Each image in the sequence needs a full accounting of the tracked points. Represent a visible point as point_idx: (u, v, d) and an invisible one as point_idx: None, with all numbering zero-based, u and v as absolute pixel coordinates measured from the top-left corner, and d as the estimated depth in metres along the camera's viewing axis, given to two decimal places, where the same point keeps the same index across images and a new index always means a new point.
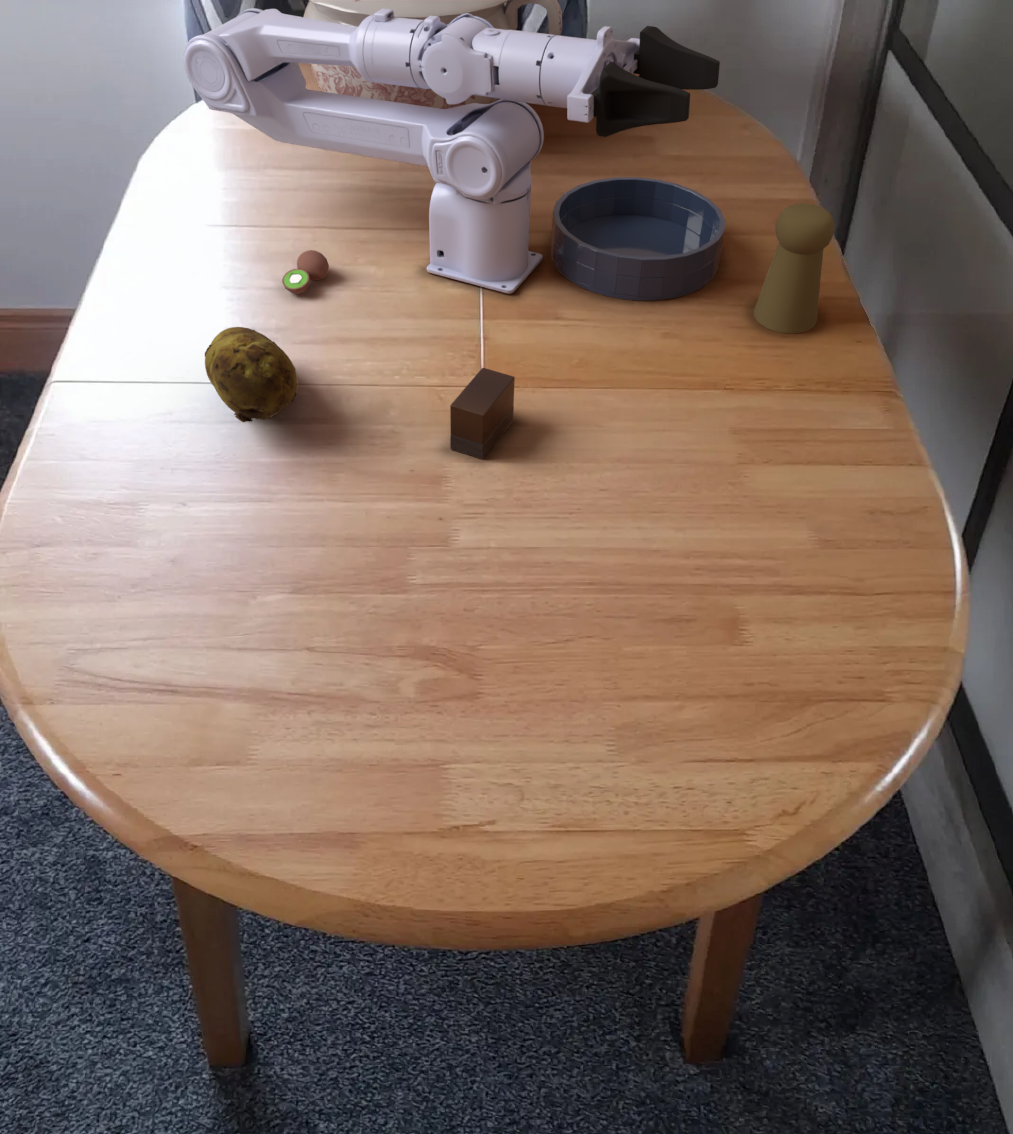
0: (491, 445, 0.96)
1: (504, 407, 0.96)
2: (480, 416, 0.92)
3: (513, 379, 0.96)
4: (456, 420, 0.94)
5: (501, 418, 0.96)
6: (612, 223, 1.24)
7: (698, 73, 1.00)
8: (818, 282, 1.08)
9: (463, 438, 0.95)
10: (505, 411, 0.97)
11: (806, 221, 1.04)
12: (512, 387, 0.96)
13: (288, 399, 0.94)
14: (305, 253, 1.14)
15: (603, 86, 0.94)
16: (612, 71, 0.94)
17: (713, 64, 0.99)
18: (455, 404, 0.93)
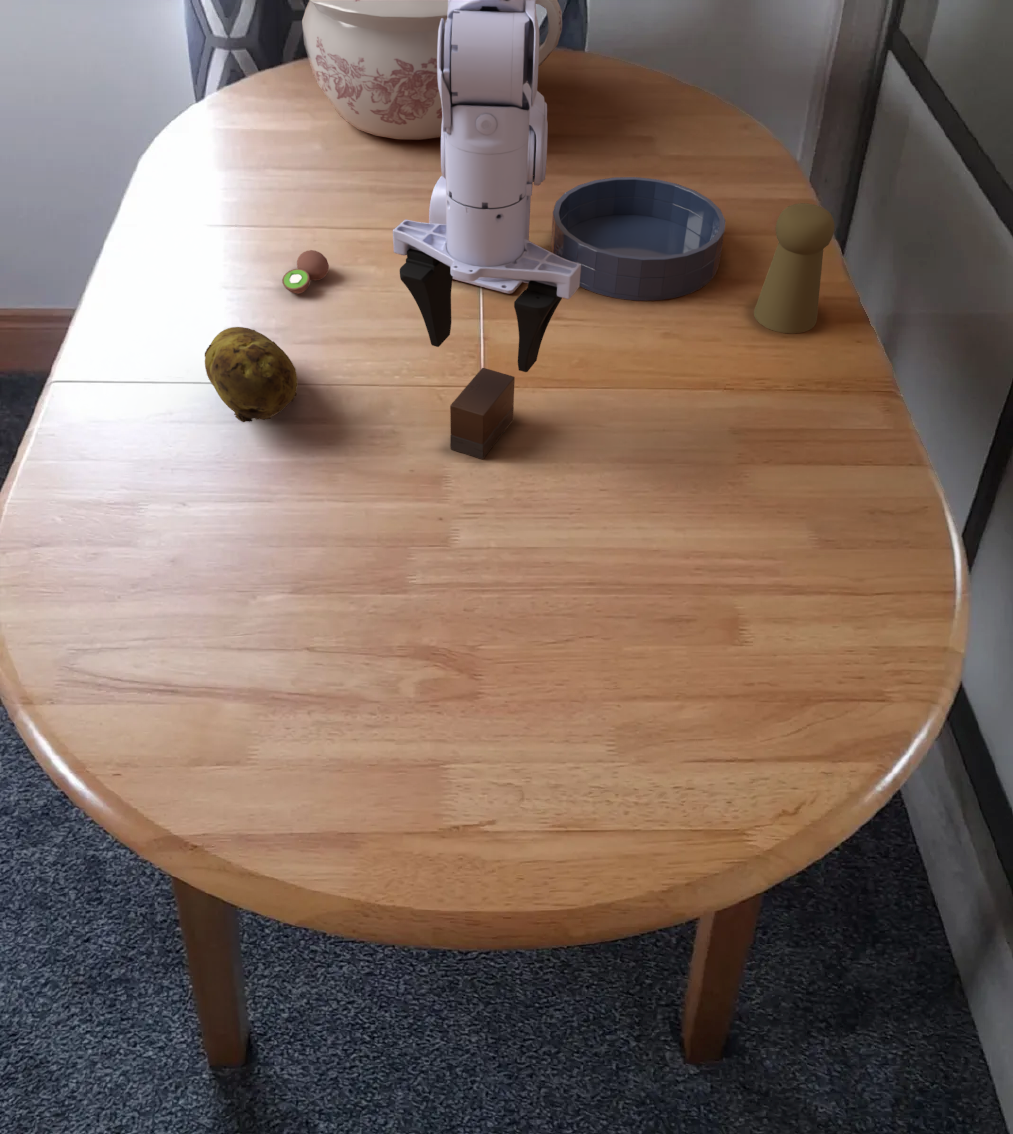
0: (491, 445, 0.96)
1: (504, 407, 0.96)
2: (480, 416, 0.92)
3: (513, 379, 0.96)
4: (456, 420, 0.94)
5: (501, 418, 0.96)
6: (612, 223, 1.24)
7: None
8: (818, 282, 1.08)
9: (463, 438, 0.95)
10: (505, 411, 0.97)
11: (806, 221, 1.04)
12: (512, 387, 0.96)
13: (288, 399, 0.94)
14: (305, 253, 1.14)
15: None
16: (410, 282, 0.88)
17: None
18: (455, 404, 0.93)
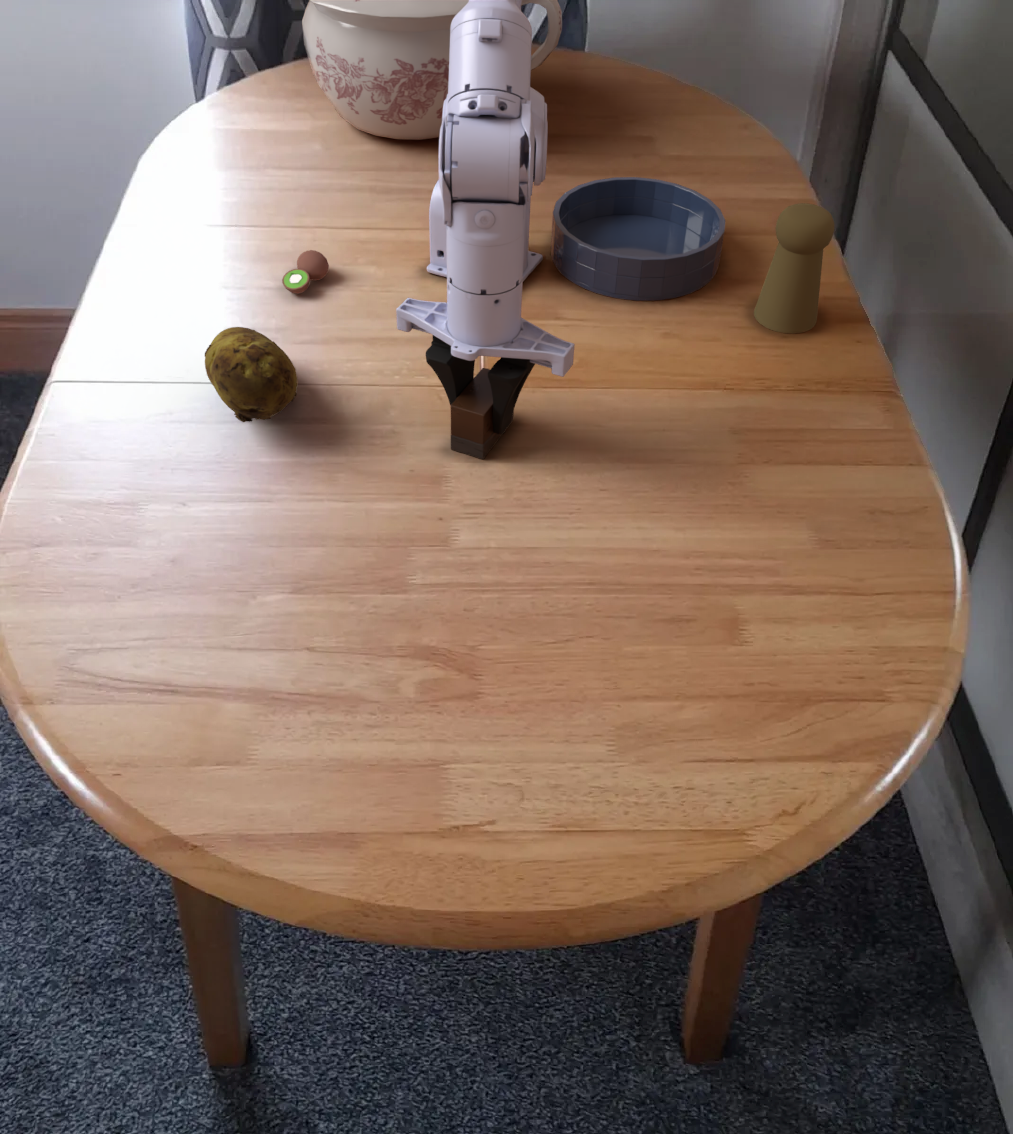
0: (491, 445, 0.96)
1: None
2: (480, 416, 0.92)
3: None
4: (457, 420, 0.94)
5: None
6: (612, 223, 1.24)
7: None
8: (818, 282, 1.08)
9: (463, 438, 0.95)
10: None
11: (806, 221, 1.04)
12: None
13: (288, 399, 0.94)
14: (305, 253, 1.14)
15: None
16: (435, 365, 0.92)
17: None
18: (455, 404, 0.93)
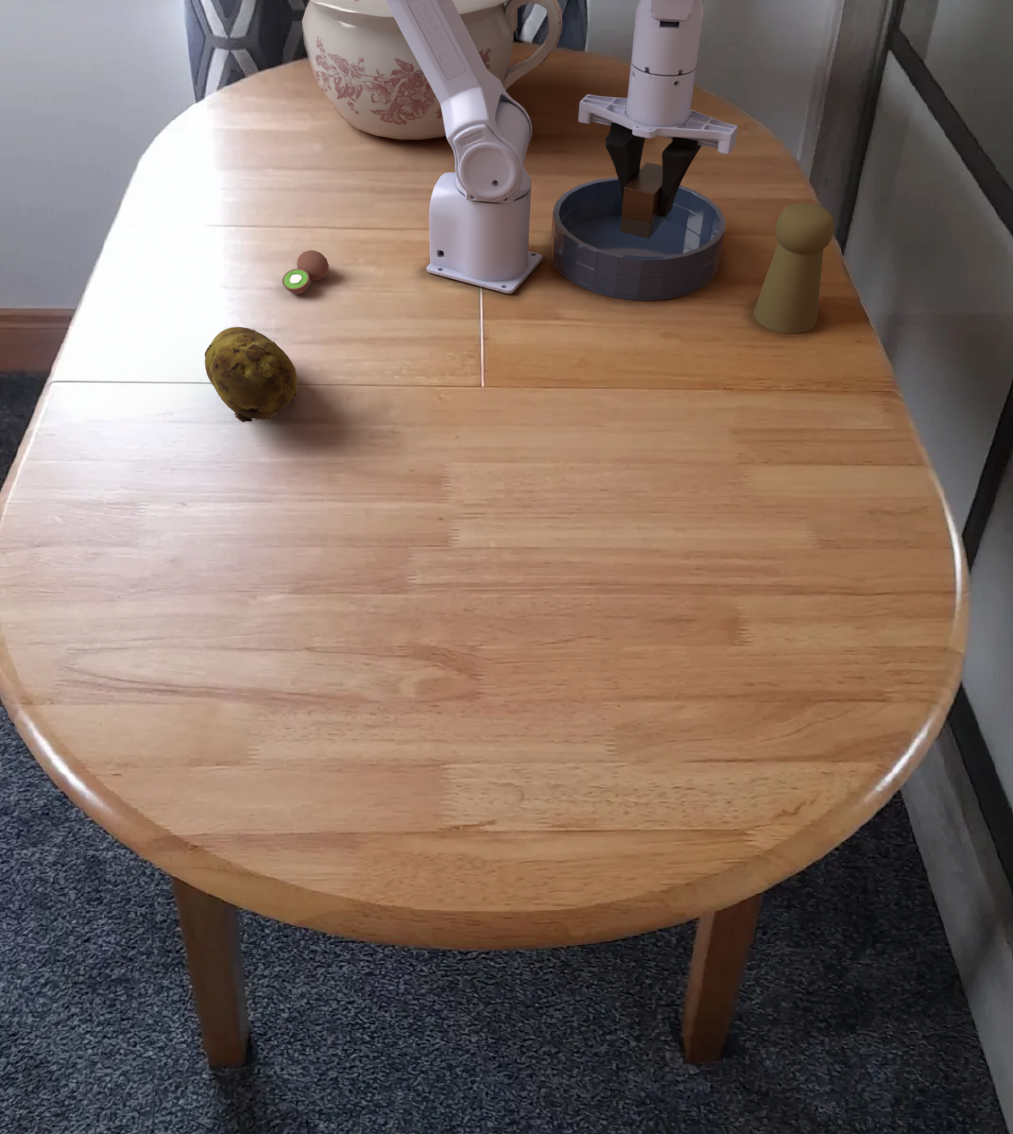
0: (655, 228, 1.11)
1: None
2: (651, 195, 1.07)
3: None
4: (629, 202, 1.08)
5: None
6: (612, 223, 1.24)
7: None
8: (818, 282, 1.08)
9: (633, 219, 1.09)
10: None
11: (806, 221, 1.04)
12: None
13: (288, 399, 0.94)
14: (305, 253, 1.14)
15: None
16: (614, 149, 1.06)
17: None
18: (628, 186, 1.08)
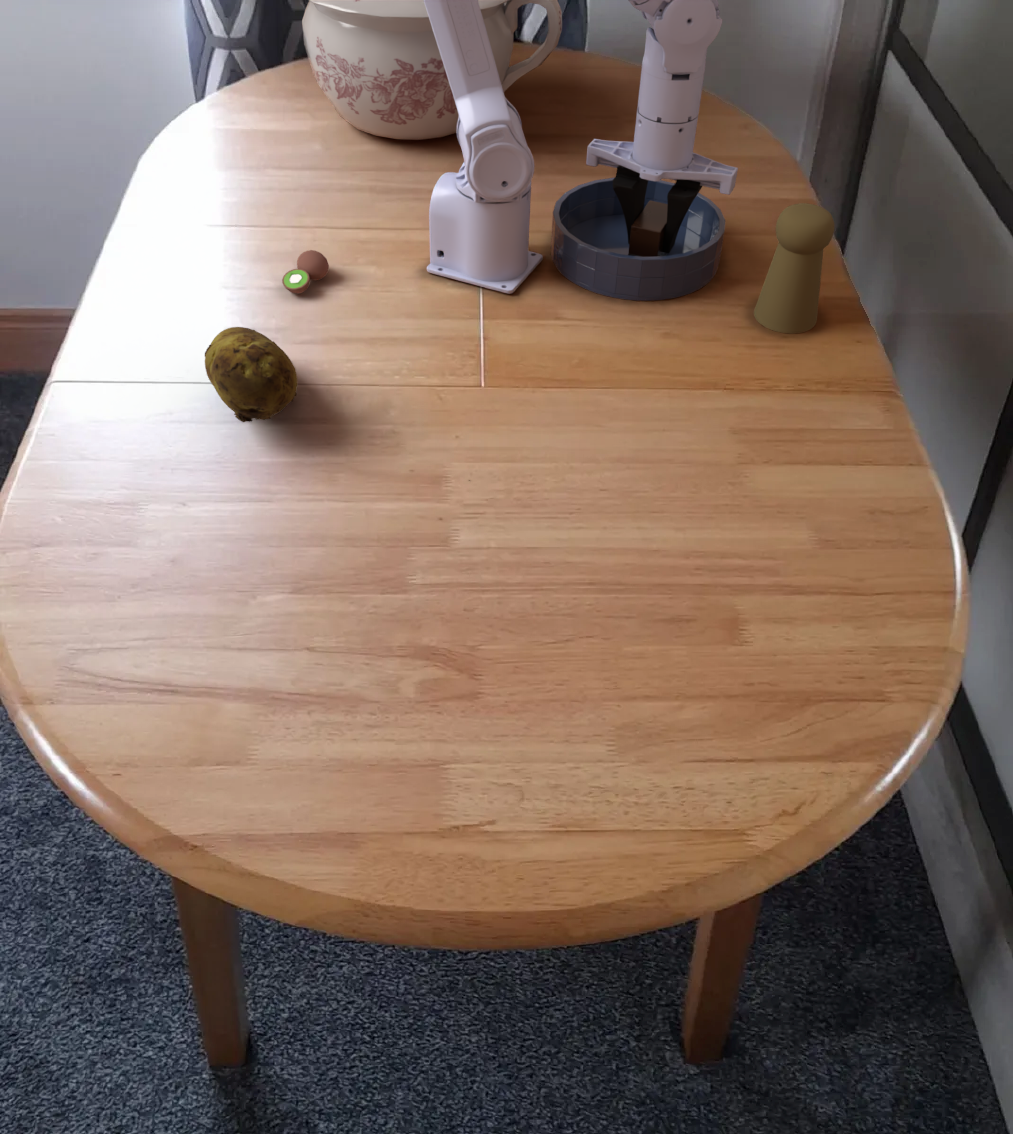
0: None
1: None
2: (657, 233, 1.13)
3: None
4: (635, 239, 1.15)
5: None
6: (612, 223, 1.24)
7: None
8: (818, 282, 1.08)
9: (639, 255, 1.16)
10: None
11: (806, 221, 1.04)
12: None
13: (288, 399, 0.94)
14: (305, 253, 1.14)
15: None
16: (621, 191, 1.13)
17: (663, 248, 1.17)
18: (635, 225, 1.14)
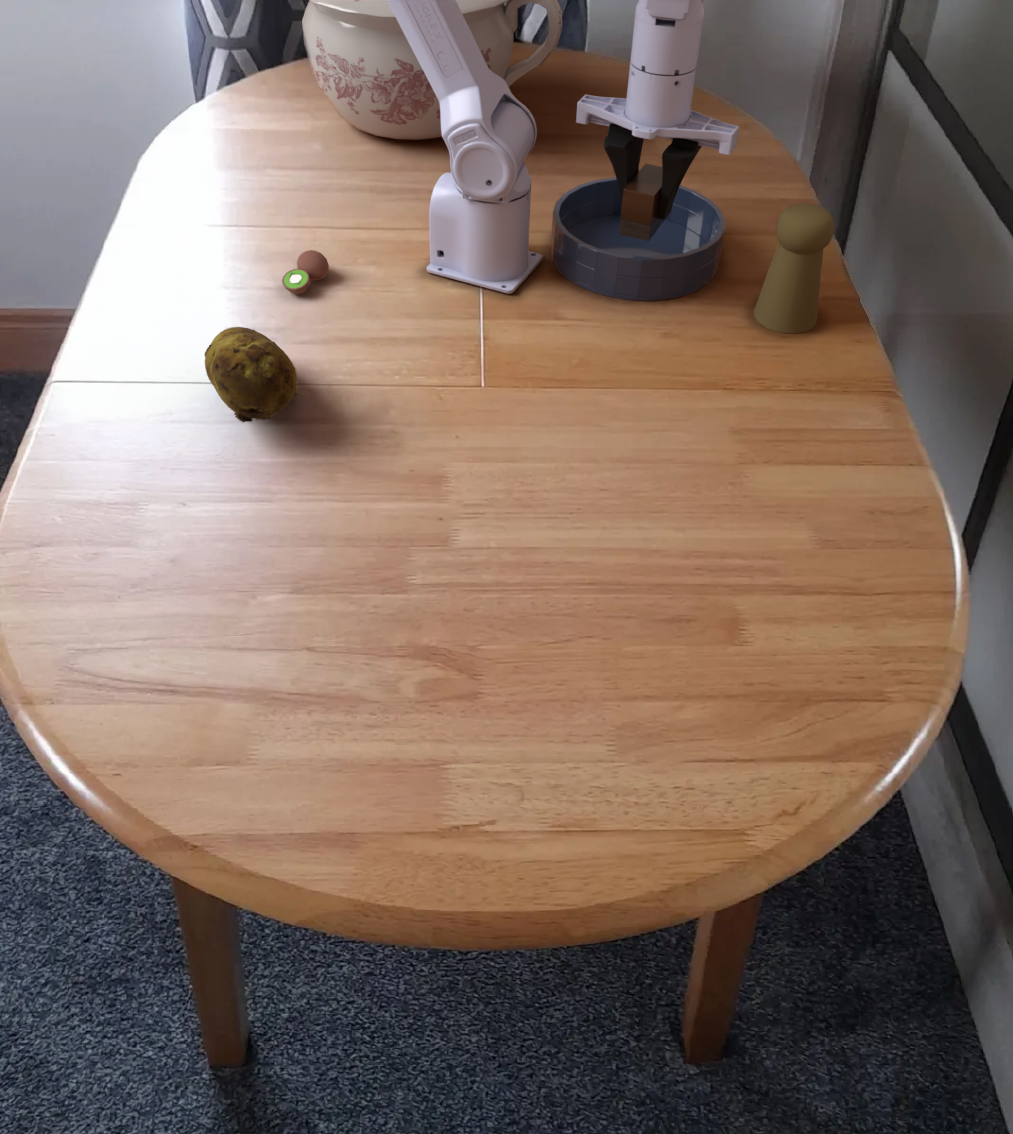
0: (655, 230, 1.09)
1: None
2: (651, 197, 1.05)
3: None
4: (628, 204, 1.06)
5: None
6: (612, 223, 1.24)
7: None
8: (818, 282, 1.08)
9: (632, 221, 1.07)
10: None
11: (806, 221, 1.04)
12: None
13: (288, 399, 0.94)
14: (305, 253, 1.14)
15: None
16: (612, 151, 1.04)
17: (658, 214, 1.08)
18: (628, 188, 1.06)
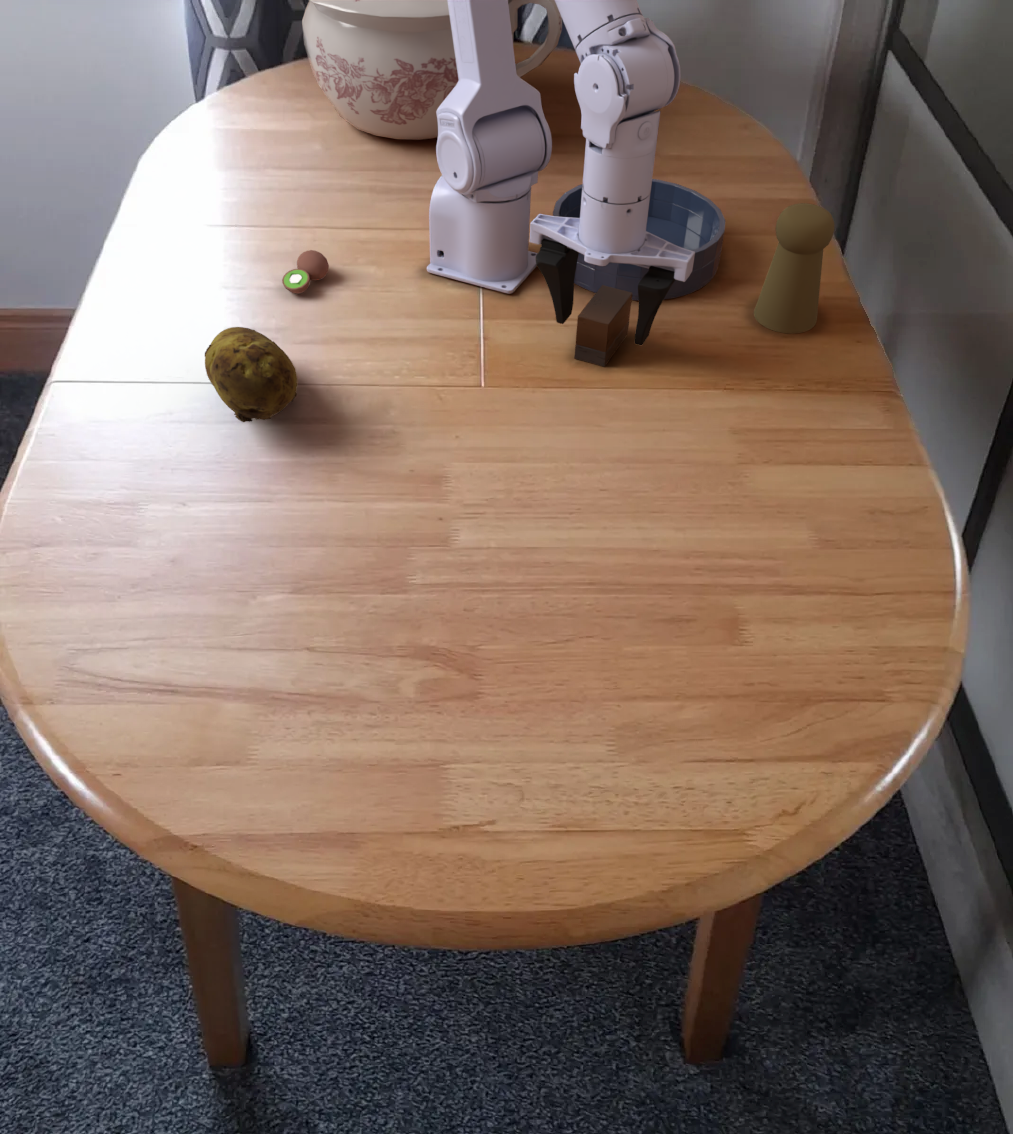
0: (611, 354, 1.06)
1: (623, 320, 1.06)
2: (605, 325, 1.02)
3: (631, 295, 1.06)
4: (582, 330, 1.04)
5: (620, 330, 1.06)
6: None
7: None
8: (818, 282, 1.08)
9: (587, 347, 1.05)
10: (623, 324, 1.07)
11: (806, 221, 1.04)
12: (630, 302, 1.06)
13: (288, 399, 0.94)
14: (305, 253, 1.14)
15: None
16: (544, 267, 1.02)
17: None
18: (582, 315, 1.03)
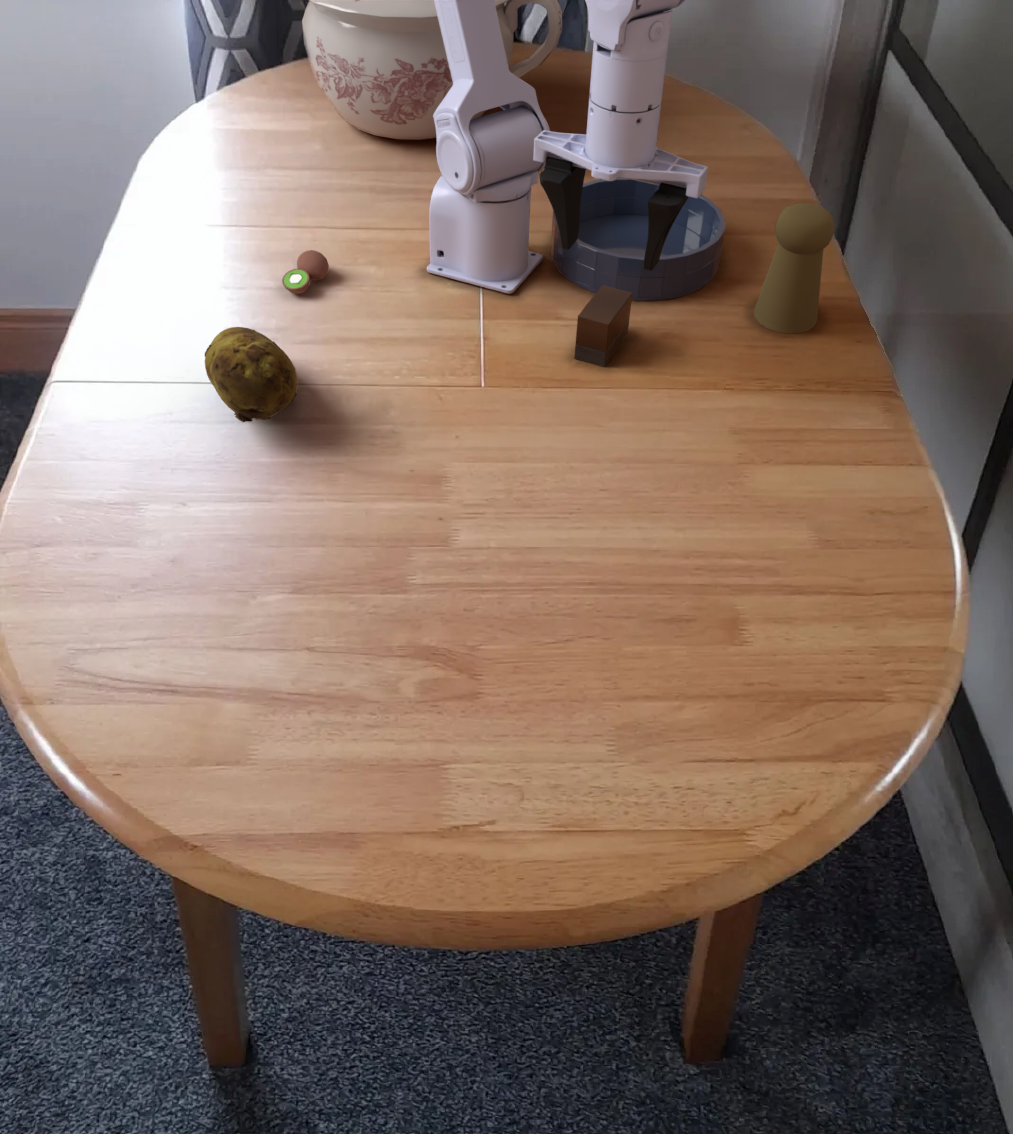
0: (611, 354, 1.06)
1: (623, 320, 1.06)
2: (605, 325, 1.02)
3: (631, 295, 1.06)
4: (582, 330, 1.04)
5: (620, 330, 1.06)
6: (612, 223, 1.24)
7: None
8: (818, 282, 1.08)
9: (587, 347, 1.05)
10: (623, 324, 1.07)
11: (806, 221, 1.04)
12: (630, 302, 1.06)
13: (288, 399, 0.94)
14: (305, 253, 1.14)
15: None
16: (549, 186, 0.97)
17: None
18: (582, 315, 1.03)
